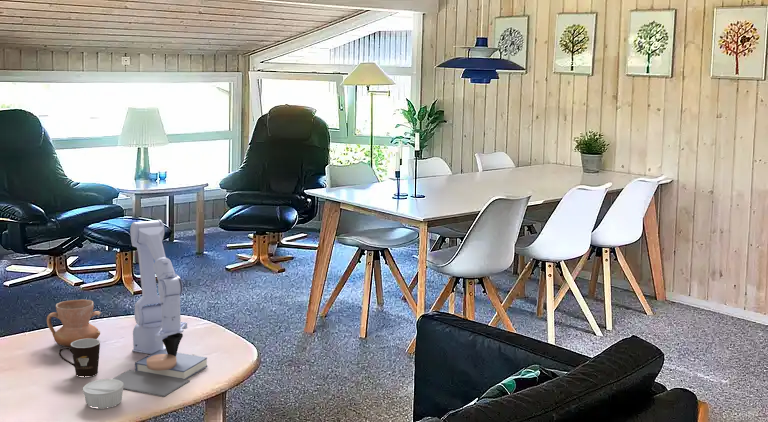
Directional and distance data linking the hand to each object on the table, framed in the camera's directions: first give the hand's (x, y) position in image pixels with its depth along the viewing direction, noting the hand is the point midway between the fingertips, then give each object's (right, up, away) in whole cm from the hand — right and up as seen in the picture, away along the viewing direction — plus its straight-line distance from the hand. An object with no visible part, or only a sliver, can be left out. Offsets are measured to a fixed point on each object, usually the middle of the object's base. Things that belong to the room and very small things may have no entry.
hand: (172, 356), depth 274 cm
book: (0, -4, 0) cm, 4 cm away
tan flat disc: (-2, -2, -5) cm, 6 cm away
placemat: (-5, -6, -12) cm, 14 cm away
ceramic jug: (-39, 0, +22) cm, 45 cm away
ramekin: (-13, -9, -26) cm, 31 cm away
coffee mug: (-27, -5, -4) cm, 28 cm away
